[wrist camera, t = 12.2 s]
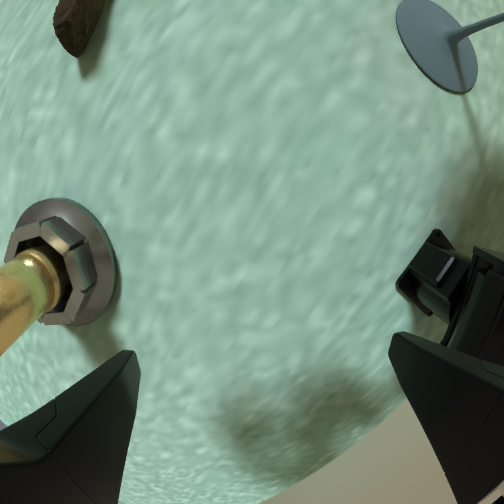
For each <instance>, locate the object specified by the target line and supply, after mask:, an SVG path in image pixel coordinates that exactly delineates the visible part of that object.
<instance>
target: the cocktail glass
mask: <svg viewBox="0 0 504 504" xmlns="http://www.w3.org/2000/svg"><path fill="white" fill-rule="evenodd" d="M503 21H504V13H502V14H499V15H496V16H493V17H490V18H487V19H484V20H482V21H479V22H476V23H474V24H471V25H468V26H465V27H461V26H460V24H459V23H458V22H457V21H456V20H455V19H454V18H453V16H452V15H450V14H449V13H448V12H447V11H446V10H445V9H443V8H442V7H440V6H439V5H437V4H436V3H434V2H432V1H429V0H403V1H402V2H401V3H400V4H399V6H398V8H397V11H396V23H397V28H398V31H399V34H400V37H401V39H402V41H403V43H404V45H405V47H406V49H407V50H408V52H409V54H410V55H411V57H412V58H413V59H414V61H415V62H416V63H417V65H418V66H419V67H420V68H421V69H422V70H423V72H424V73H425V74H427V75H428V76H429V77H430V78H431V79H432V80H433V81H435V82H436V83H437V84H439V85H440V86H442V87H444V88H446V89H448V90H450V91H454V92H464V91H467V90H469V89H470V88H472V86H473V85H474V84H475V82H476V79H477V75H478V65H477V59H476V54H475V51H474V48H473V46H472V44H471V41H470V40H469V38H468V36H469V35H471V34H473V33H475V32H477V31H479V30H482V29H484V28H487V27H489V26H492V25H495V24H497V23H500V22H503Z"/></svg>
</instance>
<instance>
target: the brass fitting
mask: <svg viewBox="0 0 504 504" xmlns="http://www.w3.org/2000/svg"><path fill="white" fill-rule="evenodd" d="M71 288H72V284H71V280H70V277H69V274H68V271H67V267H66V264H65V260H64V257H63V255H62V254H60V253H59V252H58V251H57V250H56V249H54V248H53V247H52V246H51V245H50V244H49V243H47V242H46V243H44V244H42V245H40V246H38V247H31V248H29V249H27V250H25V251H23V252H21V253H19V254H18V255H17V256H16V257H15V258H14V259H13V260H12V261H10V262H8V263H6V264H4V265H3V266H1V267H0V356H1V355H2V354H3V353H4V352H5V351H6V350H7V349H8V348H9V347H10V346H11V345H12V344H13V343H14V342H15V341H16V340H17V339H18V338H19V337H20V336H21V335H22V334H23V333H24V332H25V331H26V330H27V329H28V328H29V327H30V326H31V325H32V324H33V323H34V322H35V321H36V320H37V319H38V318H39V317H40V316H41V315H42V314H44V313H47V312H49V311H51V310H52V309H53V308H54V307H55V306H56V305H57V304H58V303H59V302H60V301H61V300H62V298H63V295H64V294H66V293H67V292H68V291H69V290H70V289H71Z"/></svg>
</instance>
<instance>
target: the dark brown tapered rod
mask: <svg viewBox="0 0 504 504" xmlns="http://www.w3.org/2000/svg"><path fill="white" fill-rule="evenodd" d="M103 6H104V5H103V1H102V0H59V3H58V5H57V7H56V10H55V11H56V12H55V13H54V17H53V19H54V20H53V26H54V29H55V34H56V36H57V38H58V39H59V41H60V43H61V44H62V46H63V47H64V49H65V50H66V51H67V52H68V53H69V54H71V55H72V56H74V57H76V58H77V57H78V56H79V55H80V54H81V52H82V51H83V50H84V48H85V46H86V44H87V42H88V39H89V37H90V36H91V34H92V32H93V29H94V27H95V24H96V21H97V19H98V17H99V15H100V13H101V11H102V9H103Z"/></svg>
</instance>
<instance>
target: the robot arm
mask: <svg viewBox="0 0 504 504" xmlns="http://www.w3.org/2000/svg"><path fill="white" fill-rule="evenodd" d="M436 234H437V236H436ZM401 282H403V283H402V284H401ZM396 285H397V287H398V288H399V289H400V290H401V291H403V292H404V293H405V294H406V295H407V296H408V297H409V298H410V299H411V300H412V301H413V302H414V303H415V304H416V305H417V306H418V307H419V308H420V309H421V310H422V311H423V312H424V313H425V314H426V315H427V316H431V315H432V314H433V313H435V314H436V315H437V316H438V317H439V318H441V319H442V320H443V321H444V322H445V323H447V324H448V325H449V326H448V329H447V331H446V333H445V336H444V338H443V340H442V341H441V342H440V344H437V343H434V342H432V341H429V340H426V339H423V338H421V337H418V336H415V335H413V334H410V333H407V332H404V331H402V332H397V333H394V335H393V337H392V340H391V344H390V347H389V351H388V356H389V359H390V361H391V364H392V366H393V368H394V371H395V373H396V375H397V378H398V380H399V383H400V385H401V387H402V389H403V391H404V393H405V395H406V397H407V399H408V401H409V402H410V404H411V406H412V408H413V410H414V412H415V414H416V416H417V418H418V419H419V421H420V423H421V425H422V427H423V429H424V431H425V433H426V435H427V437H428V439H429V441H430V443H431V445H432V447H433V449H434V452H435V454H436V456H437V458H438V460H439V462H440V464H441V466H442V469H443V471H444V472H445V476H446V478H447V480H448V482H449V484H450V487H451V489H452V492H453V494H454V496H455V498H456V501H457V503H458V504H479V503H480V502H482V501H483V500H484V499H486V498H487V497H488V496H489V495H491V494H492V493H493V492H494V491H496V490H497V489H498V490H499V491H500V492H501V494H502V496H500V497H499V498H498V499H497V500H496V501H494V502H493V503H492V504H504V254H502V253H499V252H496V251H492V250H488V249H485V248H481V247H477V246H474V249H473V257H472V259H471V258H469V257H467V256H465V255H462V254H460V253H458V252H456V251H455V249H454V248H453V246H452V245H451V244H450V242H449V241H448V239H447V238H446V237H445V235H444V234H443V233H442V231H441V230H439V229H434V230H433V231H432V233H431V234H430V236H429V237H428V239H427V240H426V241H425V243H424V244H423V246H422V247H421V249H420V250H419V251H418V253H417V254H416V256H415V257H414V258H413V260H412V261H411V262H410V264H409V265H408V267H407V268H406V269H405V271H404V272H403V273H402V274H401V276H400V277H399V278H398V280H397V282H396ZM429 311H430V312H429ZM140 376H141V373H140V367H139V364H138V360H137V356H136V353H135V351H133V350H122V351H121V352H119V353H118V354H116V355H115V356H114V357H112V358H111V359H109V360H108V361H106V362H105V363H104V364H102V365H101V366H99V367H98V368H97V369H95V370H94V371H92V372H91V373H90V374H88V375H87V376H85V377H84V378H82V379H81V380H80V381H78V382H77V383H75V384H74V385H72V386H71V387H70V388H68V389H67V390H65V391H64V392H62V393H61V394H60V395H58V396H57V397H55V400H54V399H52V400H51V401H50V402H48V403H47V404H45V405H44V406H42V407H41V408H39V409H38V410H36V411H35V412H33V413H31V414H30V415H28V416H26V417H24V418H23V419H21V420H19V421H17V422H15V423H14V424H12V425H10V426H8V427H6V428H4V429H3V430H1V431H0V504H118V499H119V493H120V487H121V482H122V476H123V471H124V466H125V461H126V456H127V451H128V447H129V442H130V438H131V433H132V429H133V424H134V420H135V415H136V409H137V400H138V392H139V384H140Z"/></svg>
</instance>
